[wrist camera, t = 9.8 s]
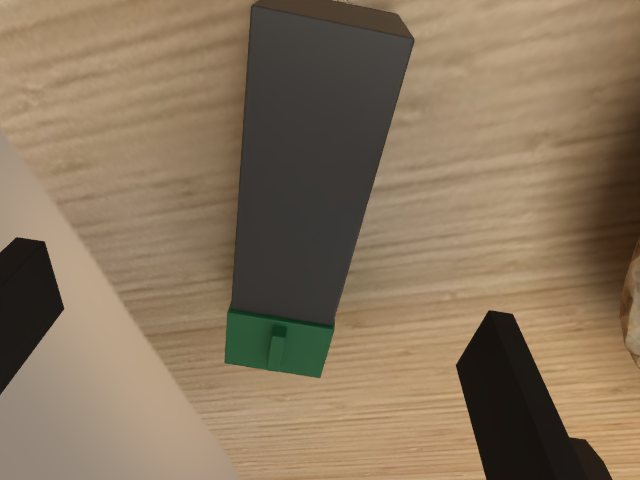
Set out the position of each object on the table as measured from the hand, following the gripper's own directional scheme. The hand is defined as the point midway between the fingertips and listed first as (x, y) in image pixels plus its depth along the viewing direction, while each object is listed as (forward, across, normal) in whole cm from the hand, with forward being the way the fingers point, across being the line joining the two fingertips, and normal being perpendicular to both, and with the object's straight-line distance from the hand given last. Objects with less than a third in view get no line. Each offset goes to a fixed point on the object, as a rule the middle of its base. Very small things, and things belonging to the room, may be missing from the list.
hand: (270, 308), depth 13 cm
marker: (+8, +1, 0) cm, 8 cm away
